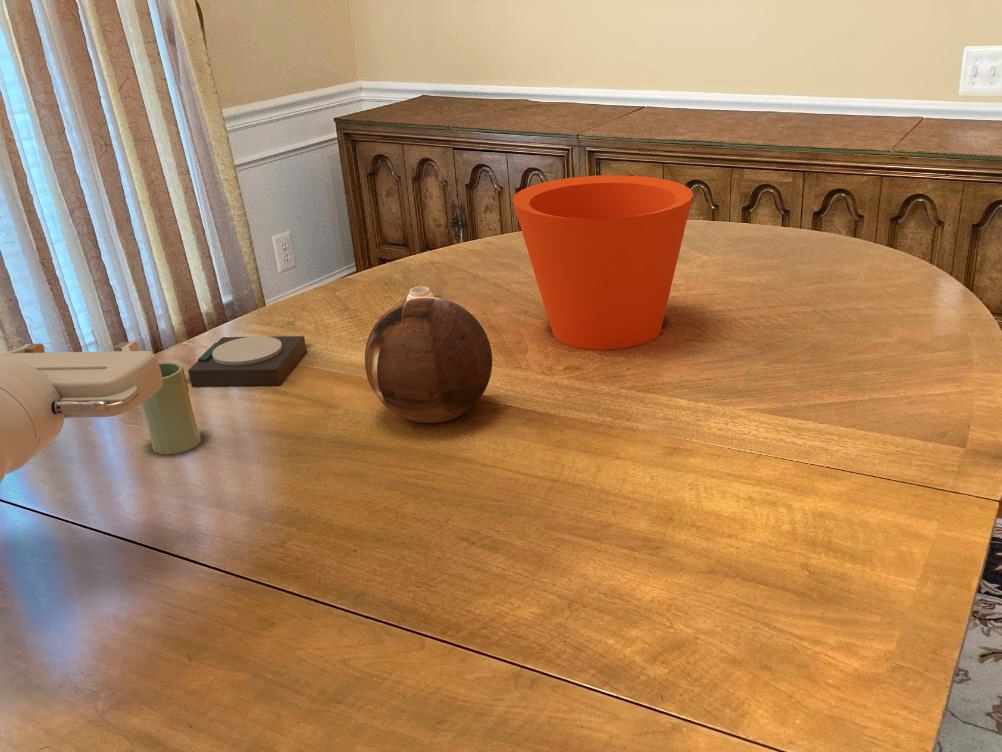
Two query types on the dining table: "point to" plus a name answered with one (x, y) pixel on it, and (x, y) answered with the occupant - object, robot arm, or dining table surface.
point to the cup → (171, 413)
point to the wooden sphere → (428, 360)
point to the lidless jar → (419, 293)
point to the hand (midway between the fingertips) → (85, 349)
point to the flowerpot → (604, 254)
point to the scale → (248, 361)
